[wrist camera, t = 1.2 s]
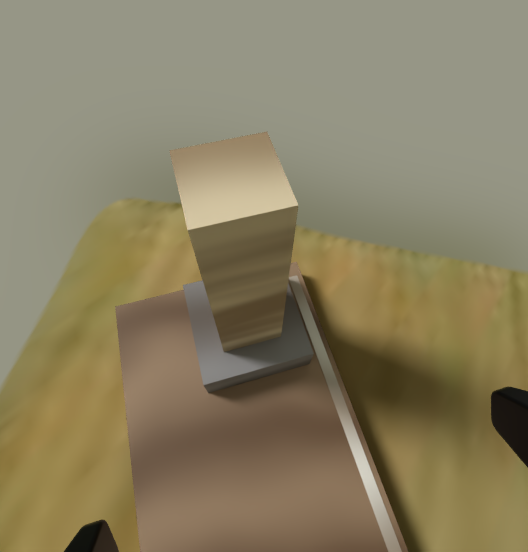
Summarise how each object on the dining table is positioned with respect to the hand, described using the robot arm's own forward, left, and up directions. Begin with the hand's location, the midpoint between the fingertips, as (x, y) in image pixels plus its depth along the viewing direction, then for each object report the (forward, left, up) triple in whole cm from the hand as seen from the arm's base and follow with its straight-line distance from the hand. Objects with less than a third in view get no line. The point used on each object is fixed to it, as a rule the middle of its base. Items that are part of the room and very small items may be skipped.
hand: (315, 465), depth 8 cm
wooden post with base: (+6, -5, -12) cm, 15 cm away
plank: (+2, 0, -14) cm, 14 cm away
